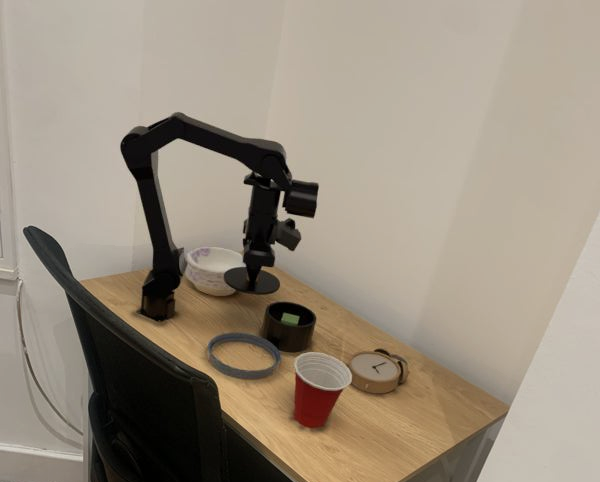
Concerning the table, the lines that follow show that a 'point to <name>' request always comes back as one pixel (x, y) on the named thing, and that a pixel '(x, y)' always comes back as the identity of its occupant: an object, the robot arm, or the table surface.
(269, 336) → the tin
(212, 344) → the blue-grey round rimmed part
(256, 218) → the robot arm
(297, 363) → the plastic cup
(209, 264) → the paper bowls
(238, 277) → the tin lid
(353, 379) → the alarm clock
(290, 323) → the green block
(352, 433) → the table surface
